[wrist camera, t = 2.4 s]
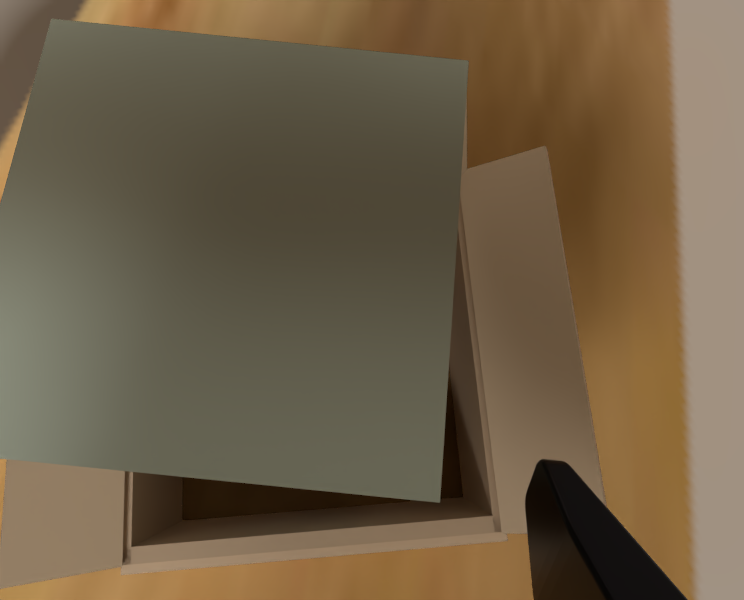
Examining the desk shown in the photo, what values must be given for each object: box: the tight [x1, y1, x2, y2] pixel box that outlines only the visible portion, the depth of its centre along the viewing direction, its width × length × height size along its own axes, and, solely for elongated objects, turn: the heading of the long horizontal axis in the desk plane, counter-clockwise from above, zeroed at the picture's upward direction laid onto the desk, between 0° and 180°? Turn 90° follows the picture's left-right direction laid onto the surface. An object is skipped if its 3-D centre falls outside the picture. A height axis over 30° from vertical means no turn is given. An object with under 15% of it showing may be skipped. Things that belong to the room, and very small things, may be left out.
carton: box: [0, 95, 607, 589], centre depth 16 cm, size 12×14×5 cm
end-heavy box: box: [0, 19, 469, 503], centre depth 12 cm, size 5×5×13 cm
